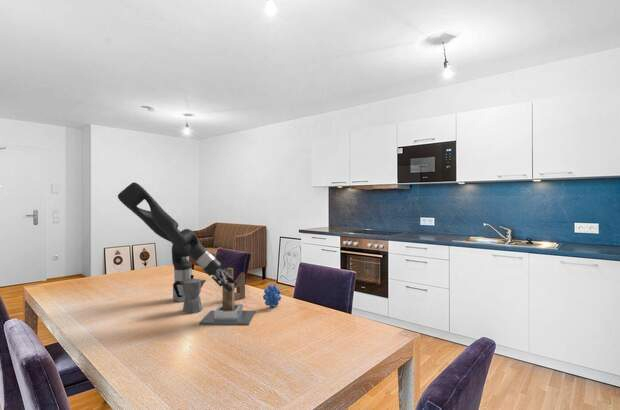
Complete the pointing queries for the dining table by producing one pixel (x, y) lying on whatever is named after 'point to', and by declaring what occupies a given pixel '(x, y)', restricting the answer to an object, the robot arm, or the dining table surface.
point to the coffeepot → (190, 294)
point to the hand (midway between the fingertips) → (233, 287)
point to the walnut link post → (228, 298)
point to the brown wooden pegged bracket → (238, 284)
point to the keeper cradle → (228, 316)
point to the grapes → (272, 296)
